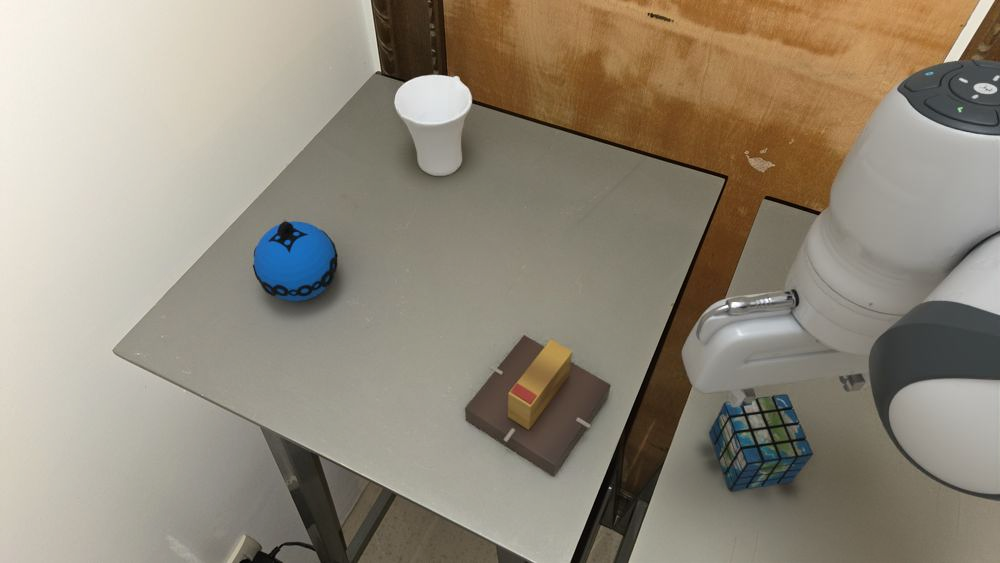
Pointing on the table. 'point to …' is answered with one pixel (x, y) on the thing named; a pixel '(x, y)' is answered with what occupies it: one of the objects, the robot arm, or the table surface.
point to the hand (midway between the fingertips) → (794, 391)
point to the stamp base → (556, 422)
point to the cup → (435, 120)
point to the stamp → (539, 384)
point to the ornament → (295, 261)
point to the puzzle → (760, 443)
